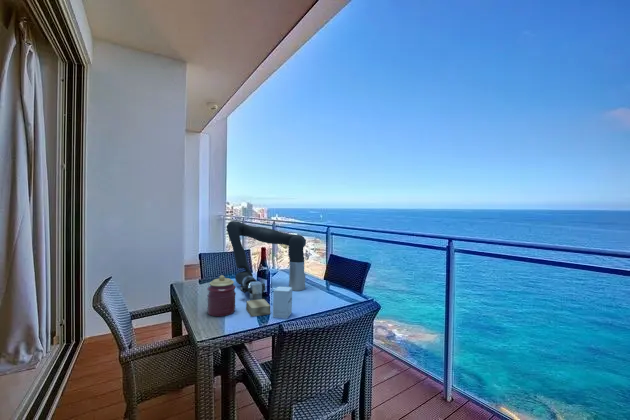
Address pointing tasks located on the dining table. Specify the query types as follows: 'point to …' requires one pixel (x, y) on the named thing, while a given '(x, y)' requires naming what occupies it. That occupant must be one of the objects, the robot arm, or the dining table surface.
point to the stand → (257, 307)
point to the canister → (221, 297)
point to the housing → (256, 290)
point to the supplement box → (282, 302)
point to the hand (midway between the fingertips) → (257, 291)
